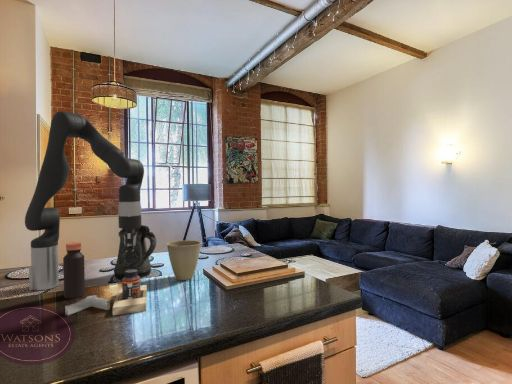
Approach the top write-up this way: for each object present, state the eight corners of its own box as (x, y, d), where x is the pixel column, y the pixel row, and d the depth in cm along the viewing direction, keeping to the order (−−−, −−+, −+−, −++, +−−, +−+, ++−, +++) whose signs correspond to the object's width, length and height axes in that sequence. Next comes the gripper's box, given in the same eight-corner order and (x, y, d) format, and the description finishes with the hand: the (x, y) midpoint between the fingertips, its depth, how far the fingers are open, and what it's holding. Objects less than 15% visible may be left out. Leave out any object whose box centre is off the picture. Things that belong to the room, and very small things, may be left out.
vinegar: (88, 293, 113) (87, 242, 112) (71, 300, 106) (70, 245, 106) (77, 291, 115) (76, 241, 115) (59, 297, 109) (58, 244, 109)
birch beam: (112, 315, 93) (112, 307, 93) (119, 294, 112) (119, 287, 112) (146, 310, 96) (145, 303, 96) (146, 291, 115) (146, 284, 115)
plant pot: (197, 283, 124) (196, 246, 124) (162, 283, 124) (162, 246, 124) (204, 273, 139) (203, 239, 139) (173, 273, 139) (172, 240, 139)
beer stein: (118, 271, 144) (117, 221, 143) (159, 268, 148) (158, 219, 148) (109, 281, 127) (108, 225, 127) (156, 278, 132) (155, 223, 132)
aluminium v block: (64, 315, 93) (64, 306, 93) (70, 306, 100) (70, 298, 100) (109, 309, 97) (109, 300, 97) (112, 301, 105) (112, 293, 105)
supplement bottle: (133, 305, 100) (133, 273, 100) (118, 304, 102) (118, 272, 101) (143, 299, 106) (143, 268, 106) (129, 298, 107) (128, 268, 107)
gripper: (120, 213, 109) (121, 256, 109) (116, 216, 96) (117, 265, 96) (141, 212, 112) (142, 254, 112) (140, 215, 98) (141, 263, 98)
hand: (130, 259), depth 104 cm, fingers open, 8 cm apart
